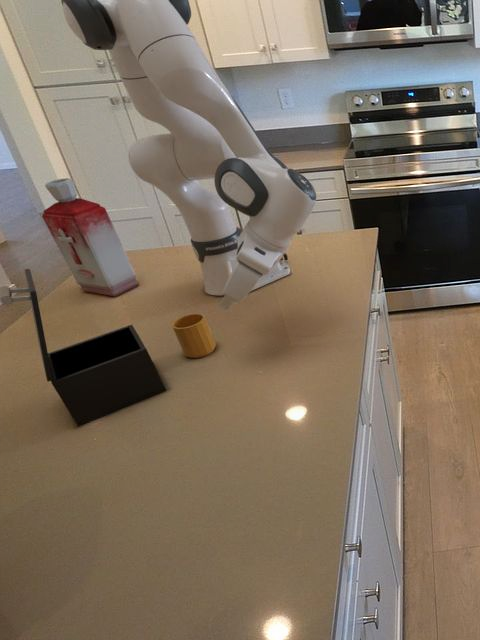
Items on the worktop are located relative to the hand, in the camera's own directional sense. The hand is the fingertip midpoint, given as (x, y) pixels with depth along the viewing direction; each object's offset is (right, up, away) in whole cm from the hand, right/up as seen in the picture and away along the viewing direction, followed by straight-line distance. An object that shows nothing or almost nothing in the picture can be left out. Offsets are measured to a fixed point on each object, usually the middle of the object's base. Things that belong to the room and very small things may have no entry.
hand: (228, 296), depth 119 cm
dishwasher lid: (-25, -7, -18) cm, 32 cm away
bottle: (-51, +7, +40) cm, 65 cm away
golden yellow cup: (-8, -11, +5) cm, 15 cm away
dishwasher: (-20, -20, -6) cm, 28 cm away
